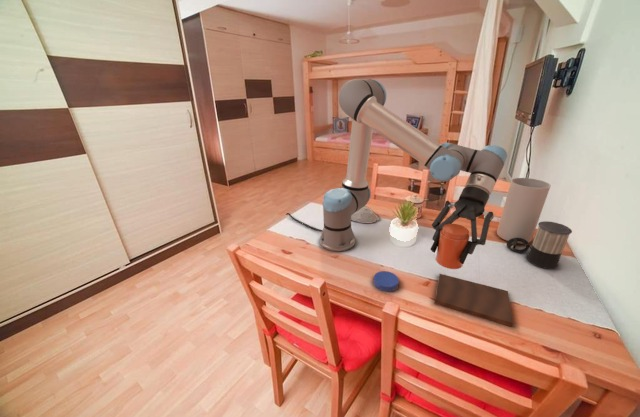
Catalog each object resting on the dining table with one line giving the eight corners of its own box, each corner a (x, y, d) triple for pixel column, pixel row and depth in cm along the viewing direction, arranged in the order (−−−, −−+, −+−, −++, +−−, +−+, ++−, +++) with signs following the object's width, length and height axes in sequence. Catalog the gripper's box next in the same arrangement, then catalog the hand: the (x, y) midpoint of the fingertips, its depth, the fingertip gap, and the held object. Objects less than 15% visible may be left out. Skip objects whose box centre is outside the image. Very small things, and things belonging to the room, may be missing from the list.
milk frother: (559, 272, 92) (575, 236, 86) (505, 259, 100) (516, 225, 94) (553, 252, 103) (566, 219, 97) (505, 242, 111) (515, 210, 105)
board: (434, 303, 81) (434, 299, 80) (438, 276, 92) (439, 273, 92) (511, 327, 72) (513, 323, 72) (506, 294, 83) (507, 290, 83)
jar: (434, 265, 81) (439, 232, 76) (437, 252, 87) (442, 221, 82) (462, 271, 77) (470, 238, 72) (463, 257, 83) (470, 225, 79)
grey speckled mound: (346, 203, 152) (346, 193, 149) (384, 217, 137) (385, 206, 134) (329, 215, 143) (328, 204, 139) (368, 231, 128) (368, 219, 124)
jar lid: (392, 295, 85) (393, 290, 84) (369, 285, 90) (369, 280, 89) (401, 281, 91) (402, 276, 90) (379, 272, 96) (380, 268, 95)
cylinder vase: (520, 247, 107) (539, 190, 96) (490, 234, 117) (504, 181, 106) (537, 239, 112) (557, 184, 101) (506, 227, 122) (522, 176, 112)
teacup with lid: (417, 220, 131) (420, 199, 126) (400, 215, 137) (402, 195, 132) (426, 212, 139) (429, 192, 135) (409, 208, 145) (412, 188, 140)
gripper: (441, 179, 86) (411, 240, 83) (516, 194, 72) (483, 268, 69) (445, 189, 91) (417, 247, 88) (515, 205, 77) (485, 274, 74)
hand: (446, 256), depth 78 cm, fingers closed on jar, 8 cm apart
